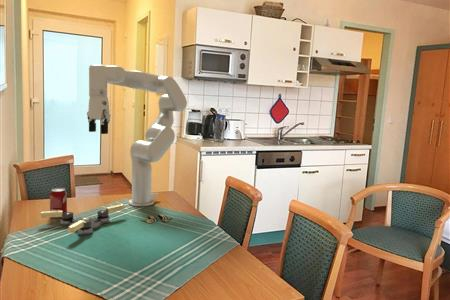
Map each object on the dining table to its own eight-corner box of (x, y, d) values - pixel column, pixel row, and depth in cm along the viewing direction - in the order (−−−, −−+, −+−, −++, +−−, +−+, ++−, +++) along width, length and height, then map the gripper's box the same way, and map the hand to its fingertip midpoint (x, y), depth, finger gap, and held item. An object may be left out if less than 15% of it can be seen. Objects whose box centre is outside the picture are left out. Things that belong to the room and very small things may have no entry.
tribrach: (96, 215, 170) (96, 207, 170) (121, 226, 158) (121, 218, 157) (58, 223, 157) (58, 215, 157) (82, 236, 145) (82, 227, 144)
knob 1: (83, 225, 151) (83, 216, 150) (93, 226, 150) (93, 217, 149) (63, 236, 138) (63, 227, 138) (74, 237, 137) (74, 228, 137)
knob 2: (101, 219, 159) (101, 210, 158) (95, 216, 161) (95, 208, 161) (127, 213, 168) (127, 205, 168) (121, 210, 171) (121, 203, 171)
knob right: (73, 217, 160) (73, 208, 159) (73, 220, 156) (73, 211, 155) (40, 219, 156) (39, 210, 155) (38, 222, 152) (38, 213, 151)
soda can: (60, 219, 163) (60, 192, 161) (46, 217, 164) (46, 190, 162) (70, 214, 169) (69, 188, 168) (56, 213, 171) (56, 187, 169)
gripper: (117, 94, 163) (116, 134, 166) (95, 93, 174) (95, 130, 177) (101, 93, 158) (101, 135, 160) (80, 92, 169) (80, 131, 171)
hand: (98, 132), depth 168 cm, fingers open, 9 cm apart
